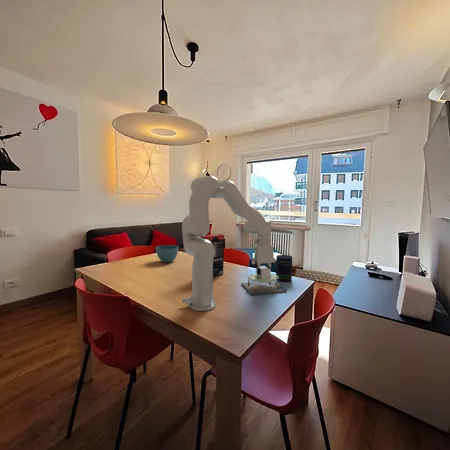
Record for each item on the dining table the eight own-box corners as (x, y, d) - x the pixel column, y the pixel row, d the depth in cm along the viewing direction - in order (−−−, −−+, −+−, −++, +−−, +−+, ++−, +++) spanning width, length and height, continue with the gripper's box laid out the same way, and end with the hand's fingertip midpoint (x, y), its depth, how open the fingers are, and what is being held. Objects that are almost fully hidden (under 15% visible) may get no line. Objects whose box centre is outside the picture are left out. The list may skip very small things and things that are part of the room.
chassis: (252, 295, 119) (252, 288, 118) (241, 285, 134) (241, 278, 134) (286, 291, 124) (286, 284, 124) (272, 282, 140) (272, 275, 139)
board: (255, 283, 120) (255, 272, 120) (245, 276, 131) (246, 266, 131) (281, 280, 126) (281, 269, 125) (270, 274, 137) (270, 263, 136)
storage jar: (291, 278, 147) (292, 255, 146) (291, 283, 138) (292, 259, 136) (276, 276, 150) (276, 254, 149) (275, 281, 141) (275, 257, 139)
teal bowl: (151, 264, 180) (151, 248, 178) (161, 258, 197) (161, 244, 196) (173, 265, 177) (173, 249, 175) (181, 259, 194) (181, 245, 193)
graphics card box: (217, 271, 160) (217, 233, 157) (224, 274, 155) (224, 234, 152) (198, 277, 148) (198, 235, 145) (205, 279, 143) (205, 236, 140)
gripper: (252, 244, 121) (251, 277, 122) (281, 242, 125) (280, 274, 127) (247, 241, 128) (246, 273, 130) (274, 240, 132) (273, 271, 134)
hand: (263, 273), depth 128 cm, fingers closed on board, 5 cm apart
